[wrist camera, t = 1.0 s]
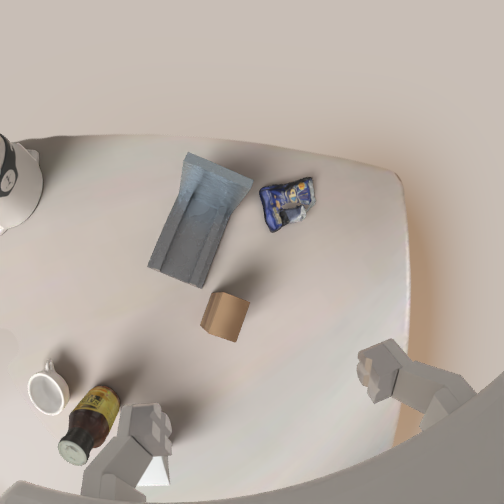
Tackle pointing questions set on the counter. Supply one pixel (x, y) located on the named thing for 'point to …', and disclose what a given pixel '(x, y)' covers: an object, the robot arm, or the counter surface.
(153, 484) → the supplement box
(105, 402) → the sauce bottle
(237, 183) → the track
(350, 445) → the counter surface
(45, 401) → the teacup
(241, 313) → the tan wooden block
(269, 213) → the snack package
